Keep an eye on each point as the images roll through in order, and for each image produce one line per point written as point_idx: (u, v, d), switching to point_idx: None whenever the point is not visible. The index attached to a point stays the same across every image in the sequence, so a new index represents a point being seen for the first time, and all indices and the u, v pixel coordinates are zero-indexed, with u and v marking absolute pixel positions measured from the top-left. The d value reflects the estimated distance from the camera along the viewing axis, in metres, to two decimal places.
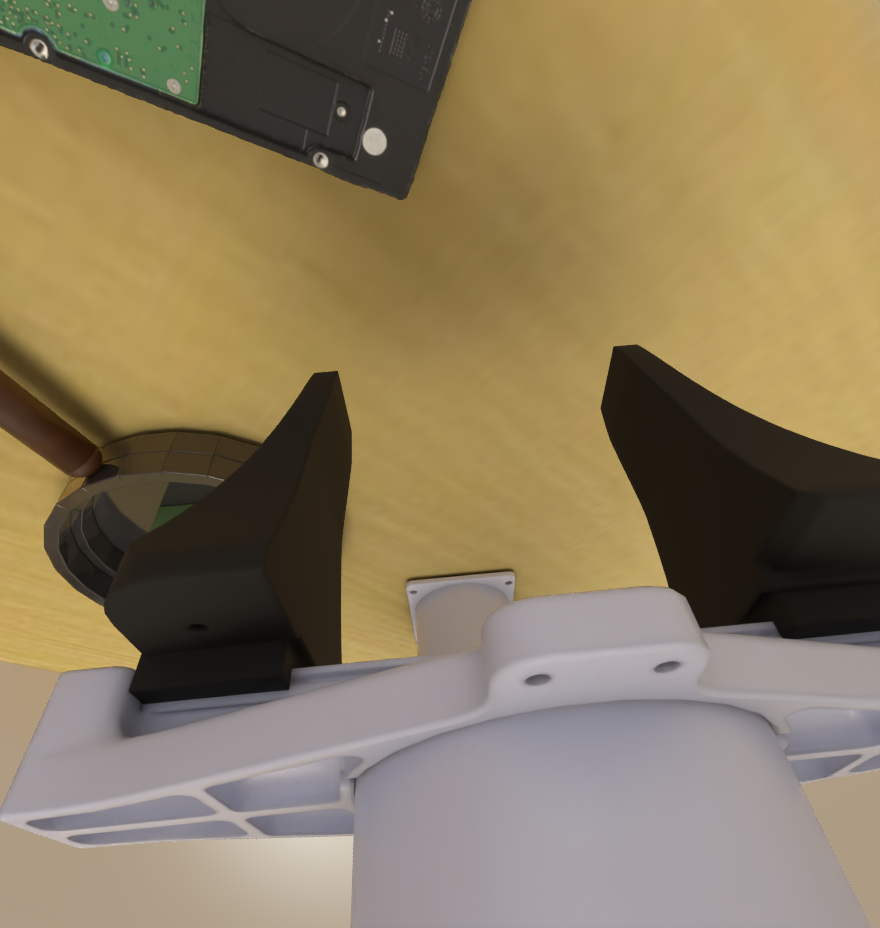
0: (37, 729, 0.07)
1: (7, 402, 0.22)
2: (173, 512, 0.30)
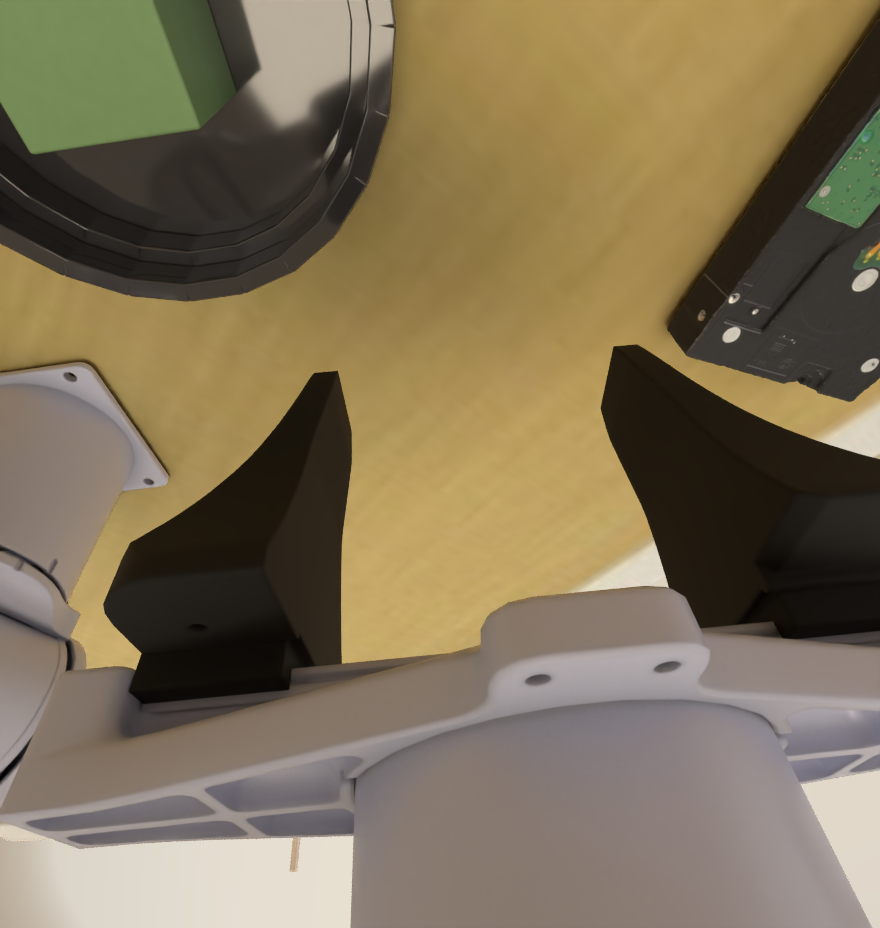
0: (37, 729, 0.07)
1: None
2: None
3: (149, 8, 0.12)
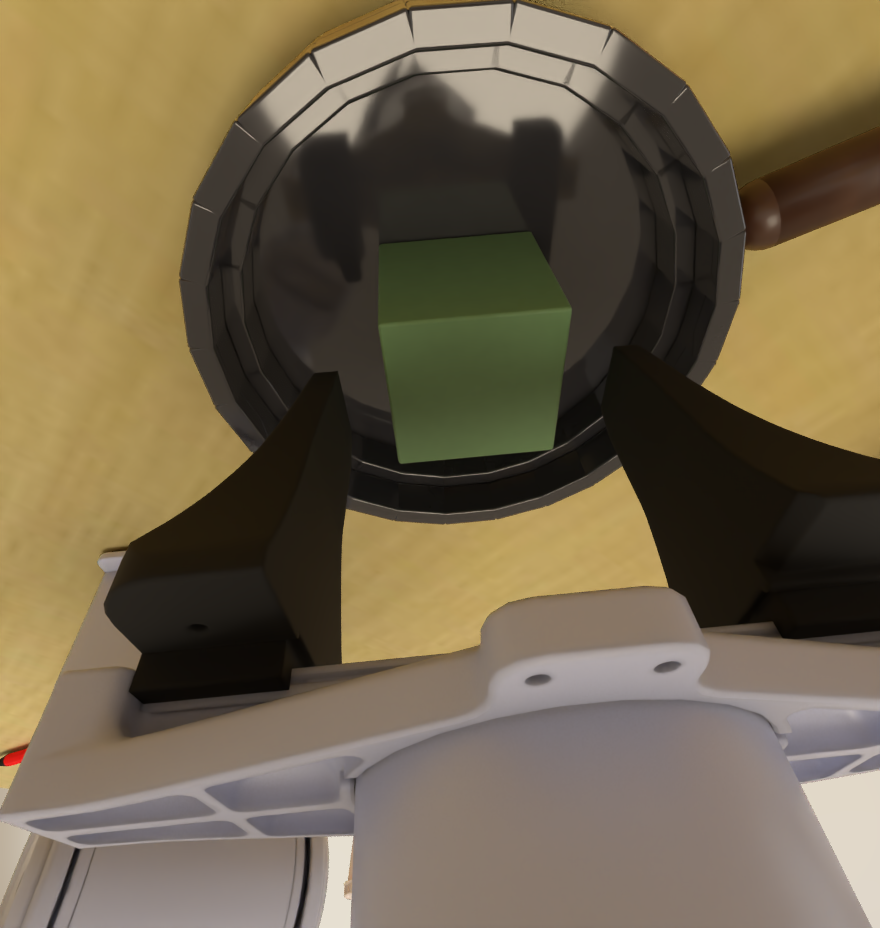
0: (37, 729, 0.07)
1: None
2: None
3: (558, 384, 0.14)
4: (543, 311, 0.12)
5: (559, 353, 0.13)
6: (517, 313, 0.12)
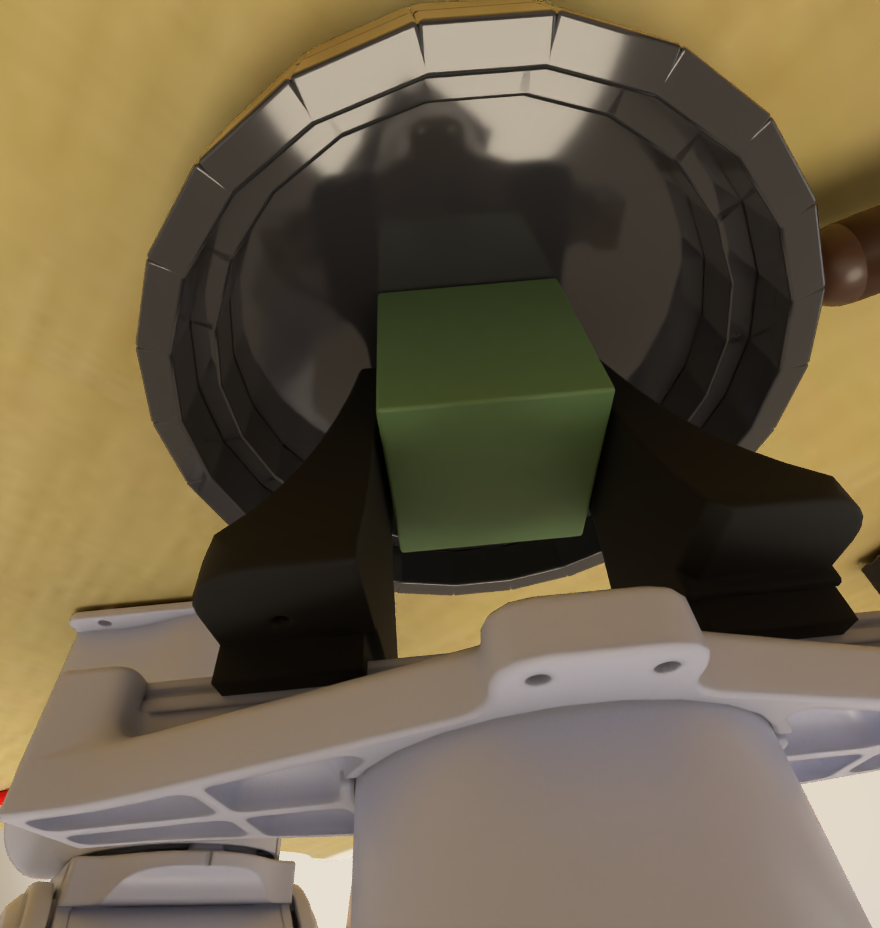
0: (37, 729, 0.07)
1: None
2: None
3: (593, 469, 0.11)
4: (580, 393, 0.10)
5: (596, 437, 0.11)
6: (548, 396, 0.10)
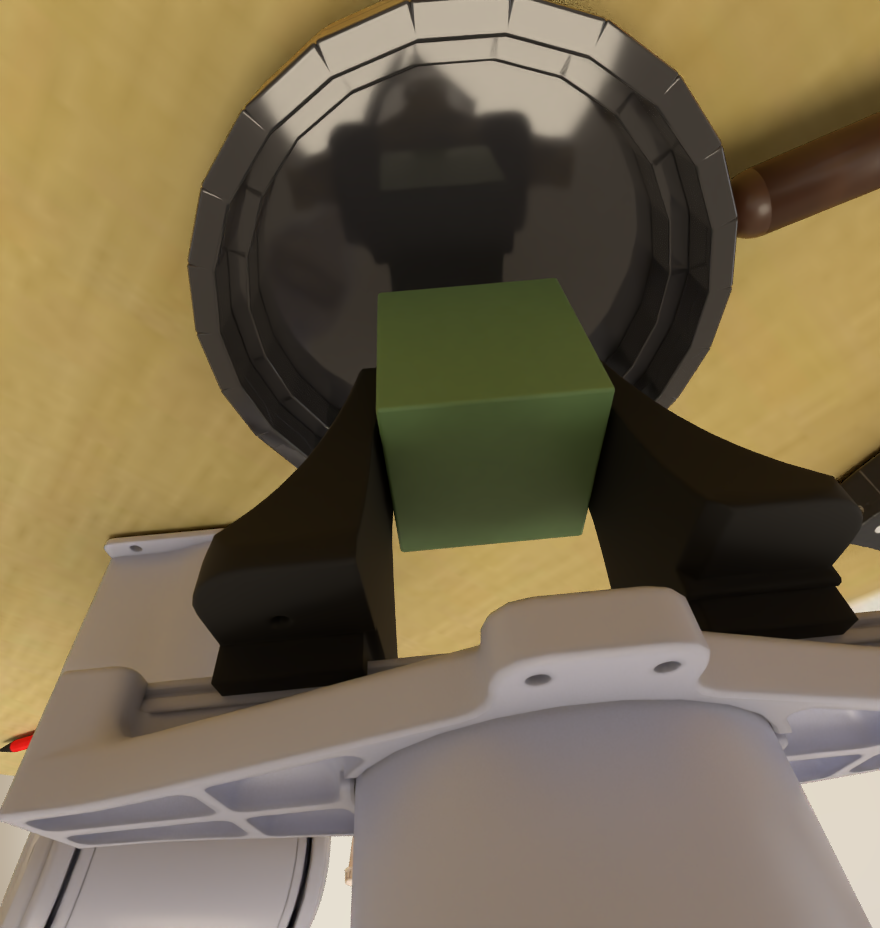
0: (37, 729, 0.07)
1: None
2: None
3: (592, 469, 0.11)
4: (579, 392, 0.10)
5: (596, 437, 0.11)
6: (548, 396, 0.10)
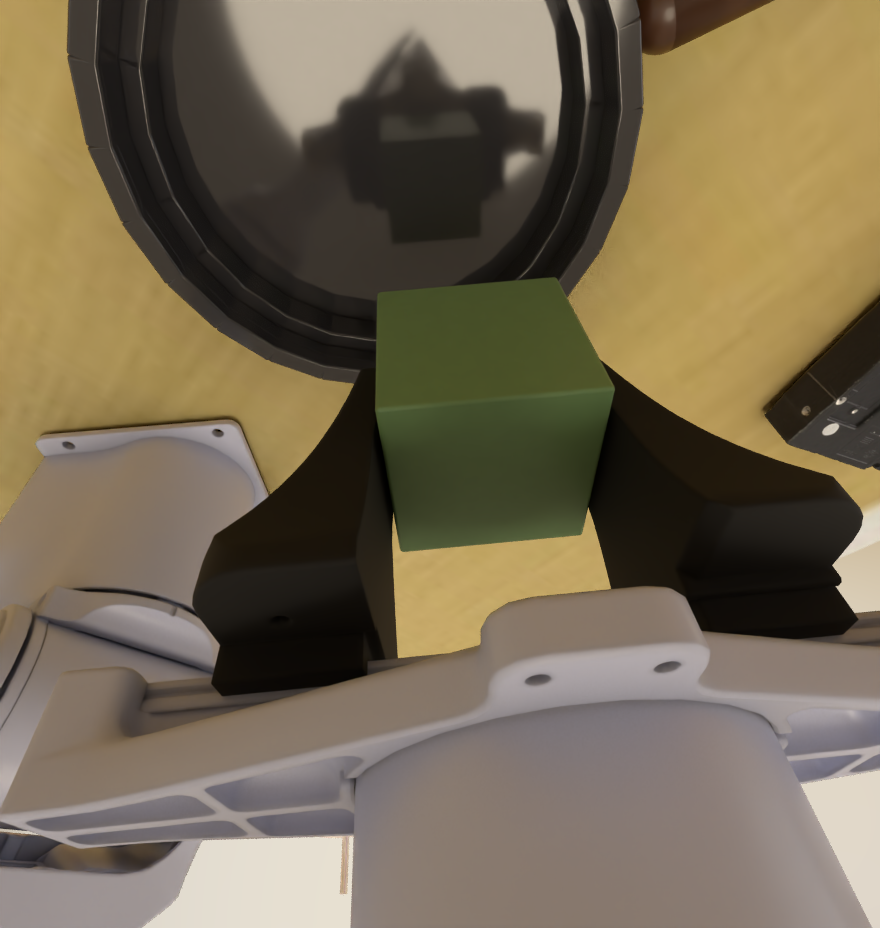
0: (37, 729, 0.07)
1: None
2: None
3: (592, 469, 0.11)
4: (580, 391, 0.10)
5: (596, 436, 0.11)
6: (548, 395, 0.10)
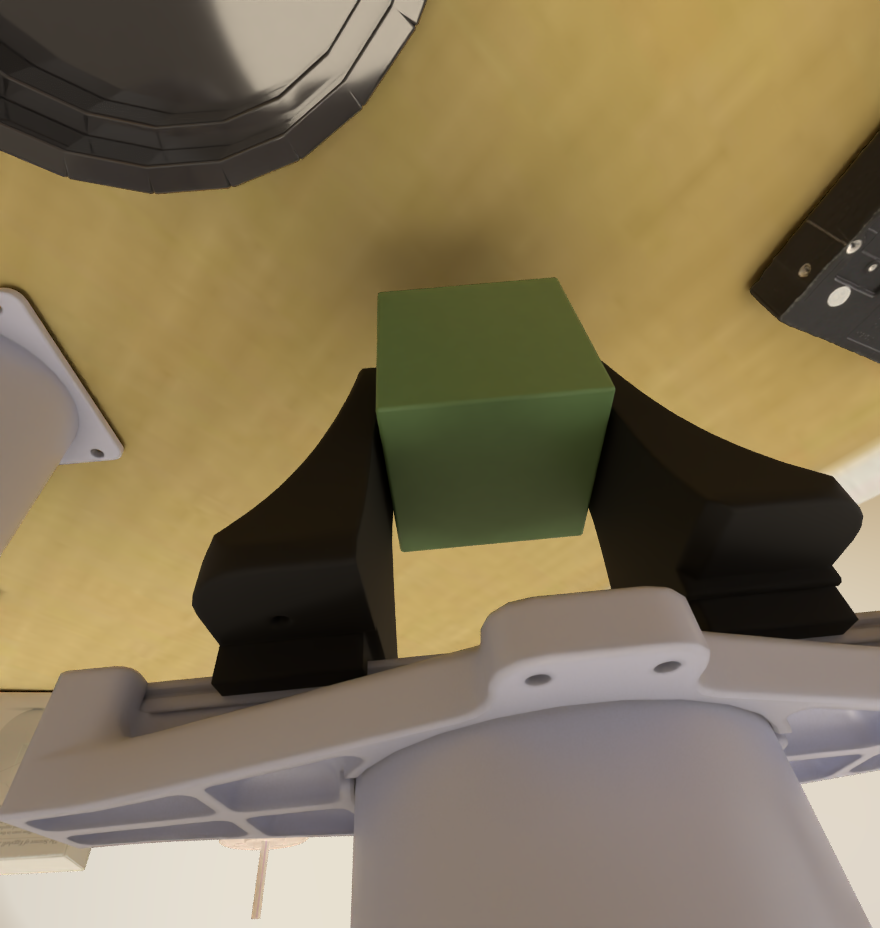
0: (37, 729, 0.07)
1: None
2: None
3: (593, 469, 0.11)
4: (580, 392, 0.10)
5: (597, 437, 0.11)
6: (548, 395, 0.10)
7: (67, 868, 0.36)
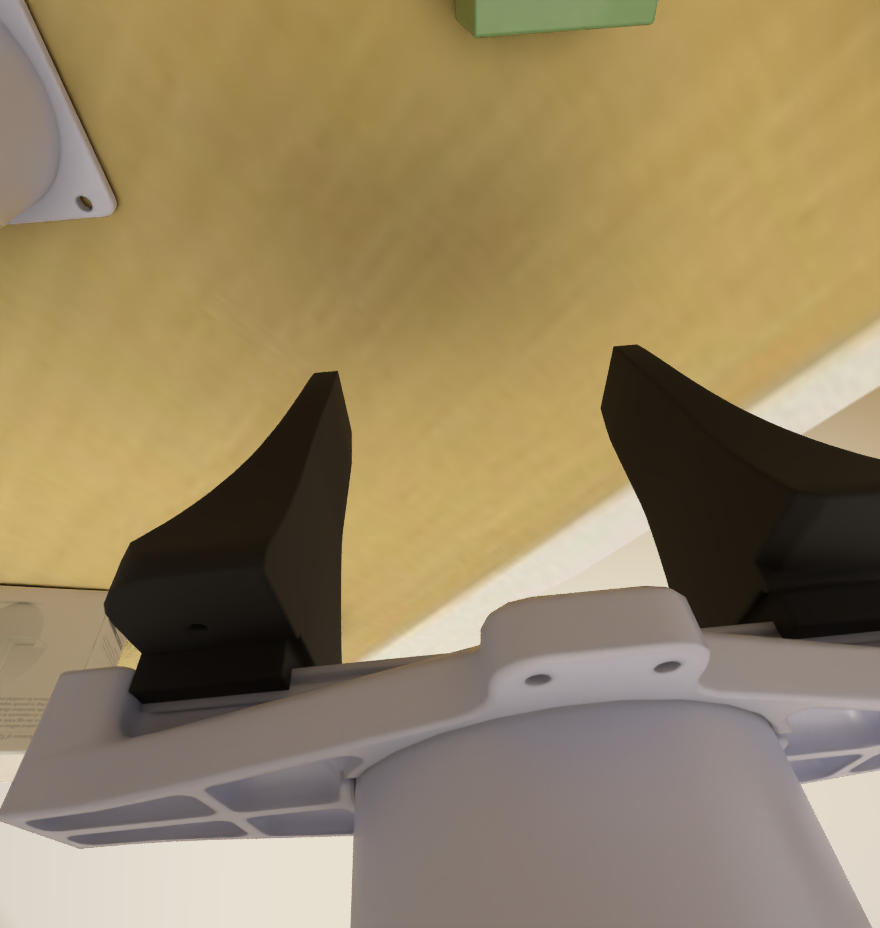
0: (37, 729, 0.07)
1: None
2: None
3: None
4: None
5: None
6: None
7: None
